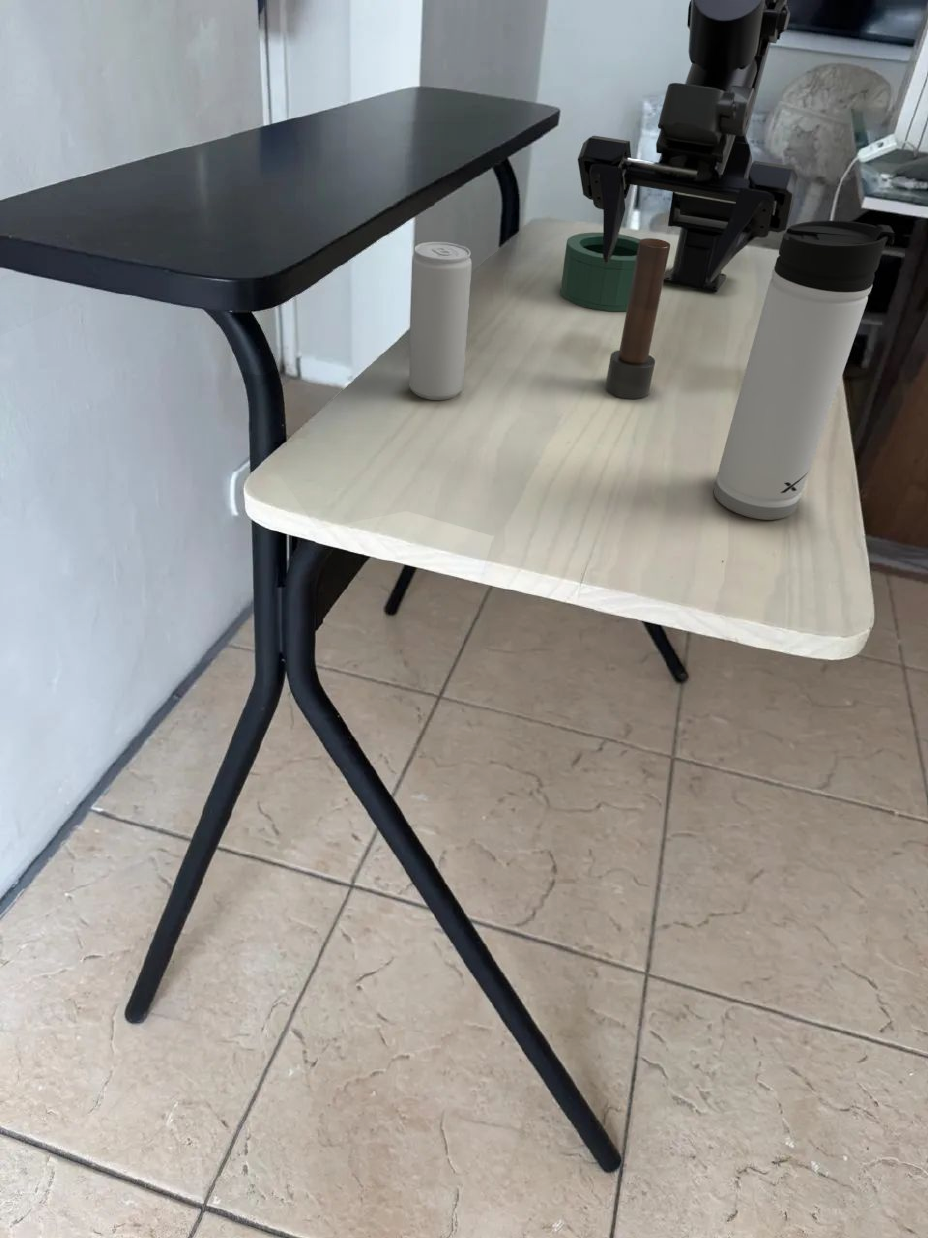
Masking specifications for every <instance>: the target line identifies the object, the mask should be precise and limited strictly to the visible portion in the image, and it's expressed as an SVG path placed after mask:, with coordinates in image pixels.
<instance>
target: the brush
mask: <svg viewBox="0 0 928 1238" xmlns="http://www.w3.org/2000/svg"><path fill="white" fill-rule="evenodd" d="M640 239H641V240H640V241H639V245H638V251H637V256H636V262H635V267H634V273H633V278H632V284H631V289H630V295H629V301H628V306H627V311H625V317H624V323H623V329H622V335H621V340H620V345H619V350H615V351H614V352H612V353H610V357H609V363H608V369H607V373H606V379H605V384H604V388H605V390H606V391H607V392H608V393H609V394H610V395H612V396H615V397H618V398H622V399H627V400H639V399H644V398H646V397H647V396H649V394H650V389H651V385H652V380H653V375H654V370H655V365H656V360H655V358H654V357H653V356H652V355H650V351H651V345H652V339H653V334H654V331H655V325H656V320H657V316H658V309H659V306H660V305H659V304H660V300H661V295H662V290H663V285H664V282H663V280H664V277H665V276H666V270H667V265H668V260H669V255H670V251H671V243H670V242H668V241H666V240H664V239H660V238H654V237H653V238H650V237H648V238H647V237H646V238H640Z"/></svg>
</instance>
